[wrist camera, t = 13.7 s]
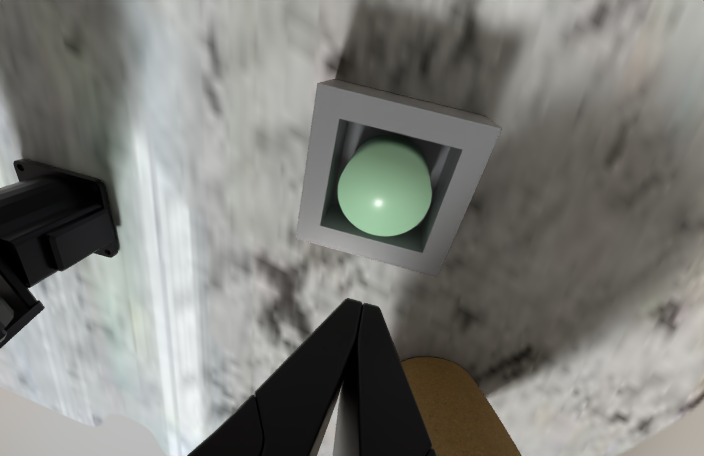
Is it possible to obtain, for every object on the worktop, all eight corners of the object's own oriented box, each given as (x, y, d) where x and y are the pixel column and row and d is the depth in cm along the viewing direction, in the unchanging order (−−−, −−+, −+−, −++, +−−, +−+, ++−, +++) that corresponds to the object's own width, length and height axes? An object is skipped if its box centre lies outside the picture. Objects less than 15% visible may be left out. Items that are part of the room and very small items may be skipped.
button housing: (312, 211, 20) (295, 238, 17) (334, 78, 17) (317, 83, 14) (433, 244, 20) (437, 277, 17) (484, 115, 16) (501, 128, 13)
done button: (341, 200, 19) (330, 223, 16) (357, 125, 16) (347, 137, 14) (414, 219, 18) (415, 245, 16) (440, 146, 16) (445, 162, 14)
